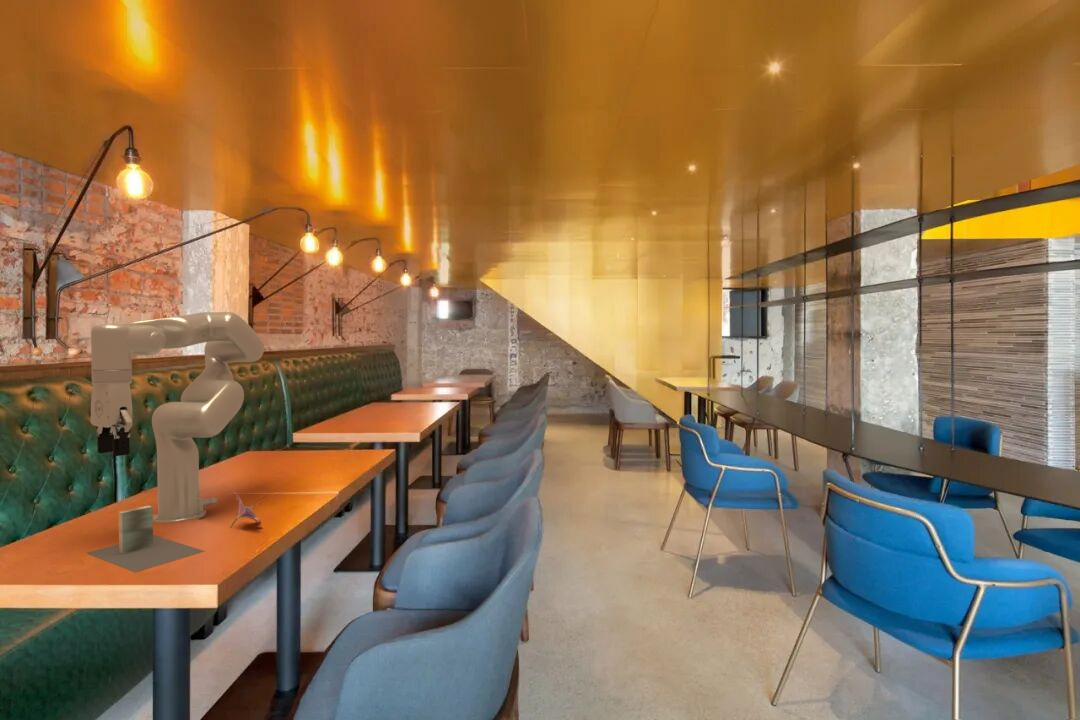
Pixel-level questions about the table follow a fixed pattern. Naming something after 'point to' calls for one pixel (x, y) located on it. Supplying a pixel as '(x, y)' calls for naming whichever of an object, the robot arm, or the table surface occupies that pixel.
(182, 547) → the mat
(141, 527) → the tile
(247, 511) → the lily
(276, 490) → the table surface
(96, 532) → the table surface
